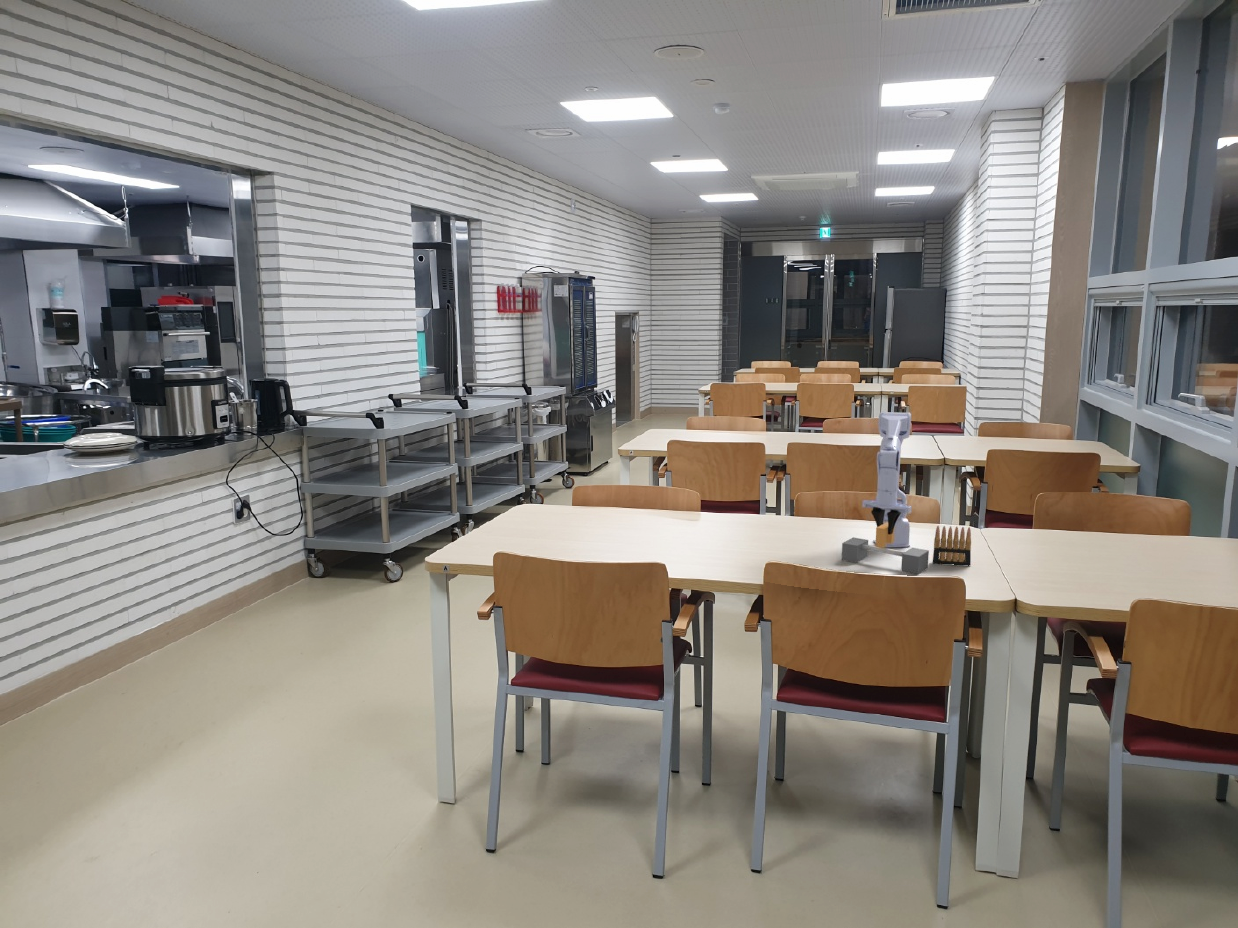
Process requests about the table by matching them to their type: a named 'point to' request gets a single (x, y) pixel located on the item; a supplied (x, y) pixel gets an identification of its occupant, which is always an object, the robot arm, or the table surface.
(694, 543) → the table surface
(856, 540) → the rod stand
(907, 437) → the robot arm
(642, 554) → the table surface
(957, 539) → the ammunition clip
